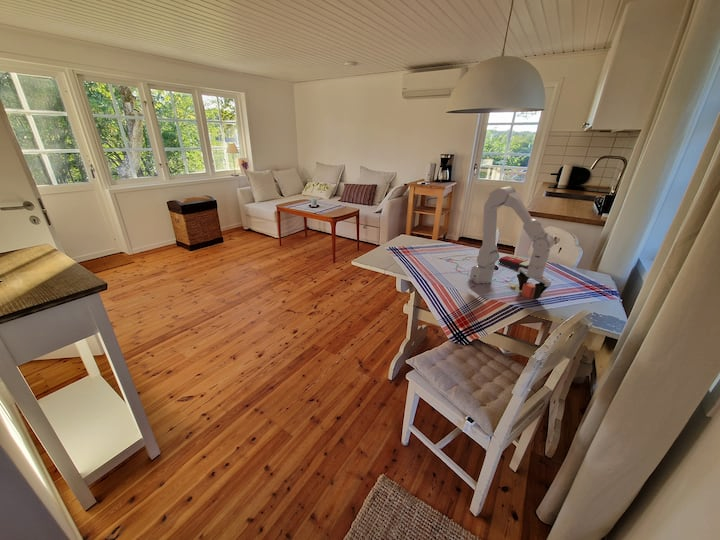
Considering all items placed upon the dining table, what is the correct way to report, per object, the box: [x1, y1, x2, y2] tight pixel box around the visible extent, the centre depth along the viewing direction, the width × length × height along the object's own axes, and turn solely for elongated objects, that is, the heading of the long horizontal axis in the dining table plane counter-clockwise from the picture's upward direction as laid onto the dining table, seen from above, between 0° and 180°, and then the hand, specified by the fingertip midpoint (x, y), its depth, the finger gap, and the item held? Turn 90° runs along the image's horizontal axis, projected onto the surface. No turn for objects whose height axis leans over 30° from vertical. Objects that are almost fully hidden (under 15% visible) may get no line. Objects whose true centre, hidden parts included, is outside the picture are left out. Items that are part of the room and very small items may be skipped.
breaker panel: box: [505, 283, 550, 300], centre depth 128 cm, size 12×12×2 cm
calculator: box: [498, 254, 530, 271], centre depth 157 cm, size 11×4×15 cm
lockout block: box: [521, 282, 536, 299], centre depth 123 cm, size 4×4×5 cm
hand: (528, 294), depth 124 cm, fingers open, 7 cm apart
